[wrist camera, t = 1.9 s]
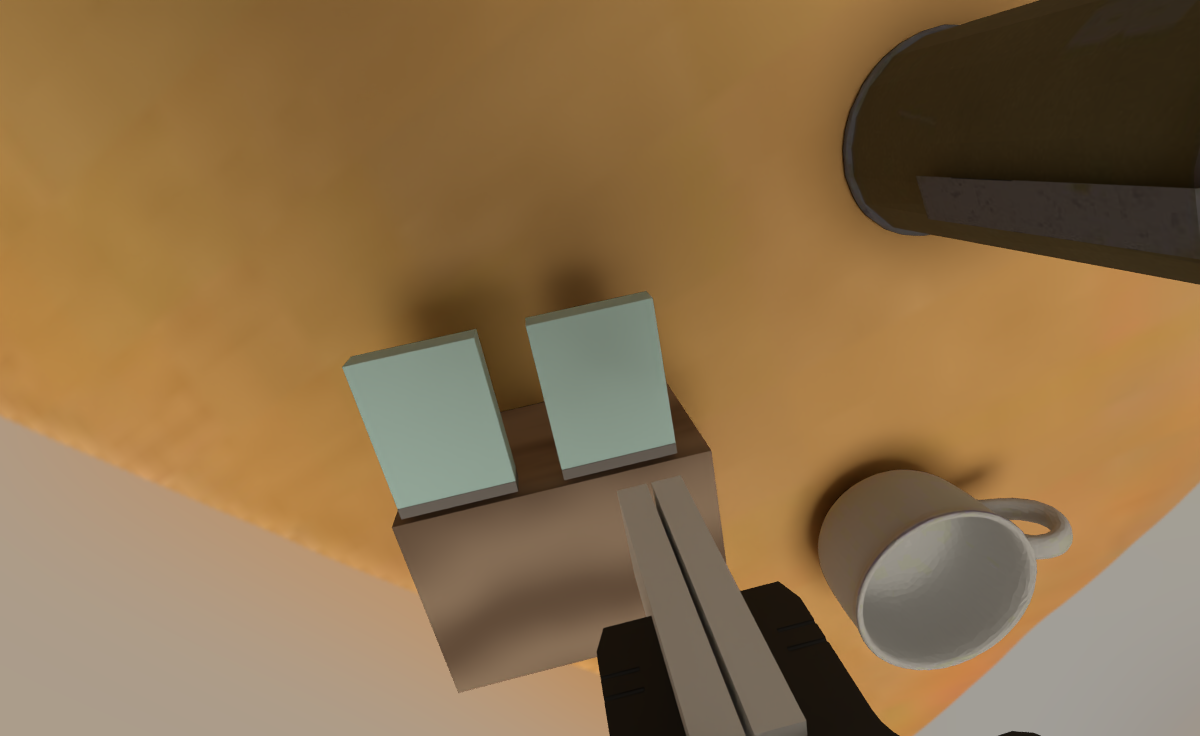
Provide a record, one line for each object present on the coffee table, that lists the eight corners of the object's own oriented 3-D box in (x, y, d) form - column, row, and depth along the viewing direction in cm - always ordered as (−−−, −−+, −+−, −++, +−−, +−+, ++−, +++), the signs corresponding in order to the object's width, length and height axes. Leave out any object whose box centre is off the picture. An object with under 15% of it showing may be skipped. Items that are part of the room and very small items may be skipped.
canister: (1000, -16, 28) (1943, -356, 9) (1039, 176, 32) (1764, 202, 13) (807, 96, 29) (1337, -18, 10) (867, 272, 32) (1332, 423, 14)
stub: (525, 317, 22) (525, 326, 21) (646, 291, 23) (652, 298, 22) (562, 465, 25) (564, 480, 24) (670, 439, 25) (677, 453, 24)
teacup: (801, 594, 41) (864, 691, 33) (791, 468, 37) (860, 547, 29) (980, 546, 41) (1081, 632, 34) (989, 418, 37) (1106, 483, 30)
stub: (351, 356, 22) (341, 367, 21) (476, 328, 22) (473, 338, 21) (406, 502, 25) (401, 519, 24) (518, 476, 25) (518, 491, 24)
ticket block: (425, 429, 32) (392, 527, 24) (661, 374, 33) (711, 450, 24) (472, 565, 36) (458, 692, 27) (683, 513, 37) (733, 621, 28)
